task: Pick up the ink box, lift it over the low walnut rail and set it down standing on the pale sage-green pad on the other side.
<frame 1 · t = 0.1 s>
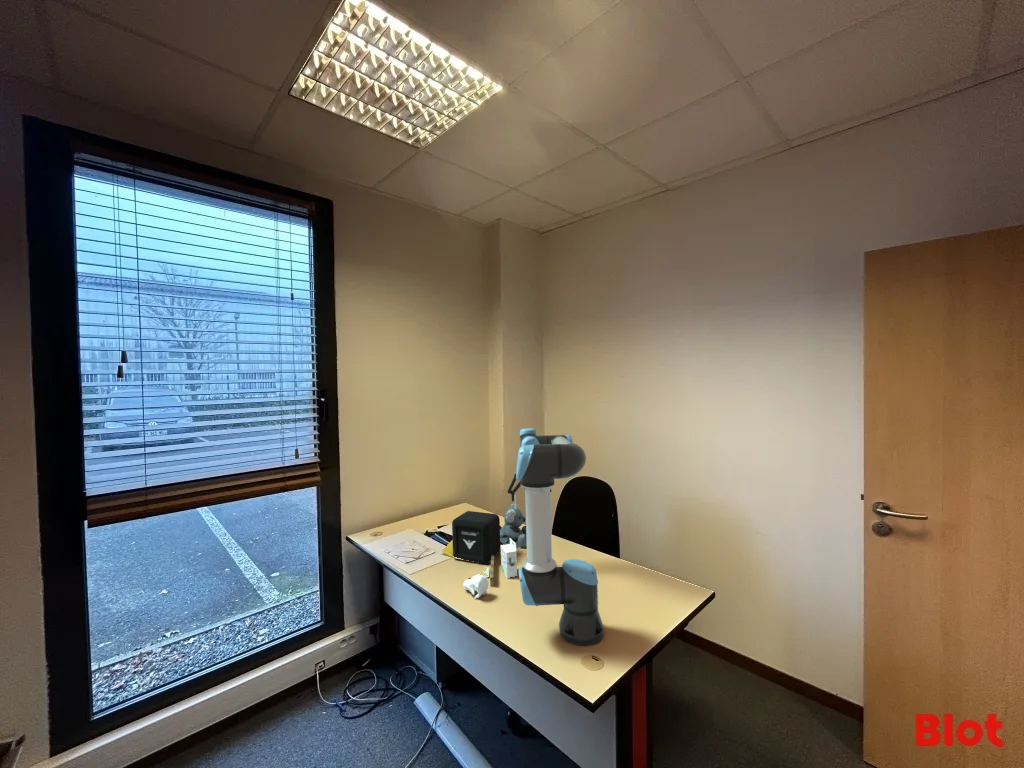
hand: (529, 507, 187), 28 cm above the table, fingers open, 13 cm apart
ink box: (509, 574, 182), on the table
rail: (492, 574, 182), on the table
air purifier: (476, 557, 201), on the table
pad: (479, 573, 183), on the table
white lumpy piece: (474, 594, 166), on the table
koala plush: (513, 542, 218), on the table
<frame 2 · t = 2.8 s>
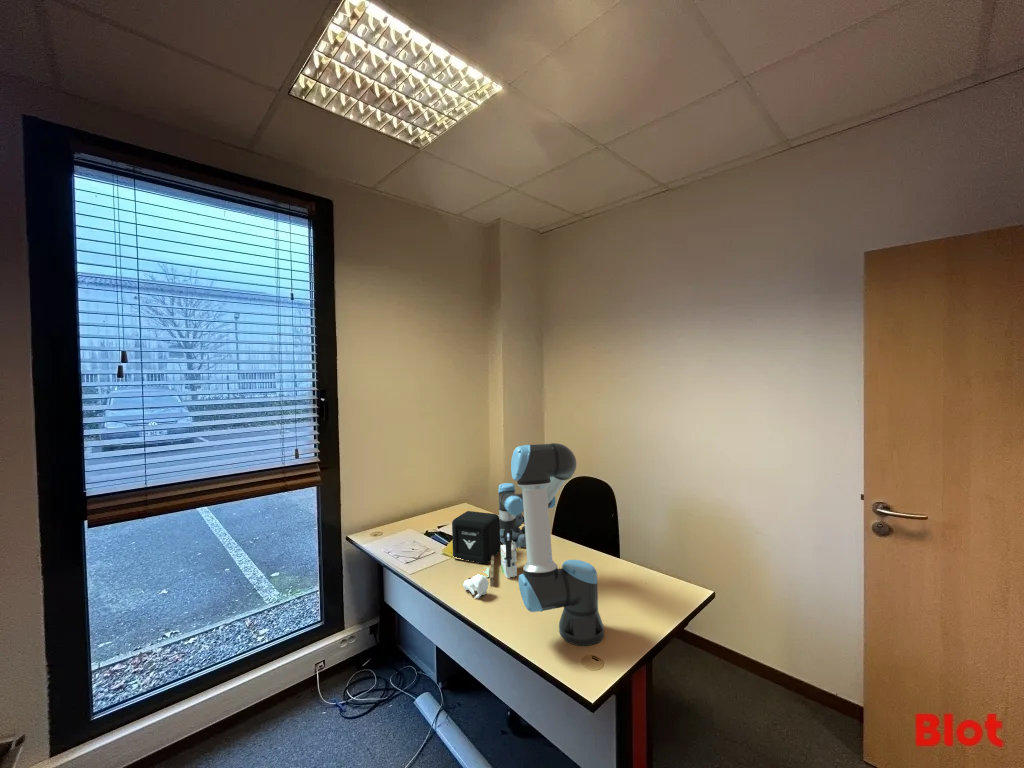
hand: (508, 568, 182), 3 cm above the table, fingers closed on ink box, 9 cm apart
ink box: (509, 574, 182), on the table, touching gripper
everything else where it was.
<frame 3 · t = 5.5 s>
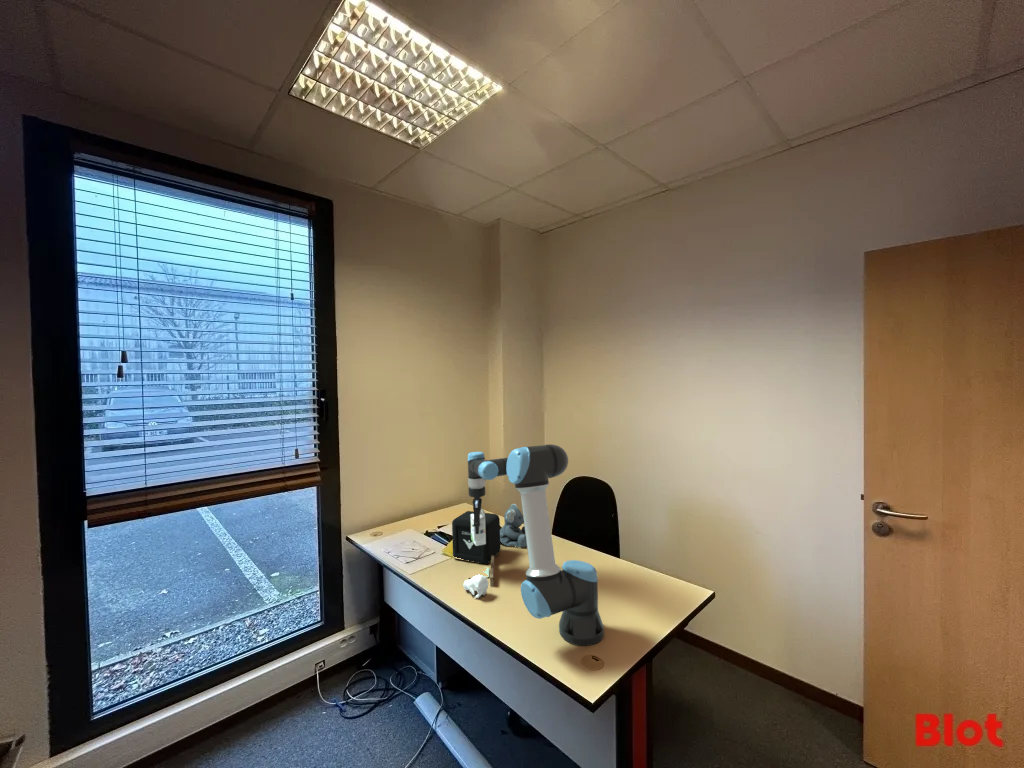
hand: (478, 536, 183), 17 cm above the table, fingers closed on ink box, 9 cm apart
ink box: (478, 542, 183), point 14 cm above the table, touching gripper
everything else where it was.
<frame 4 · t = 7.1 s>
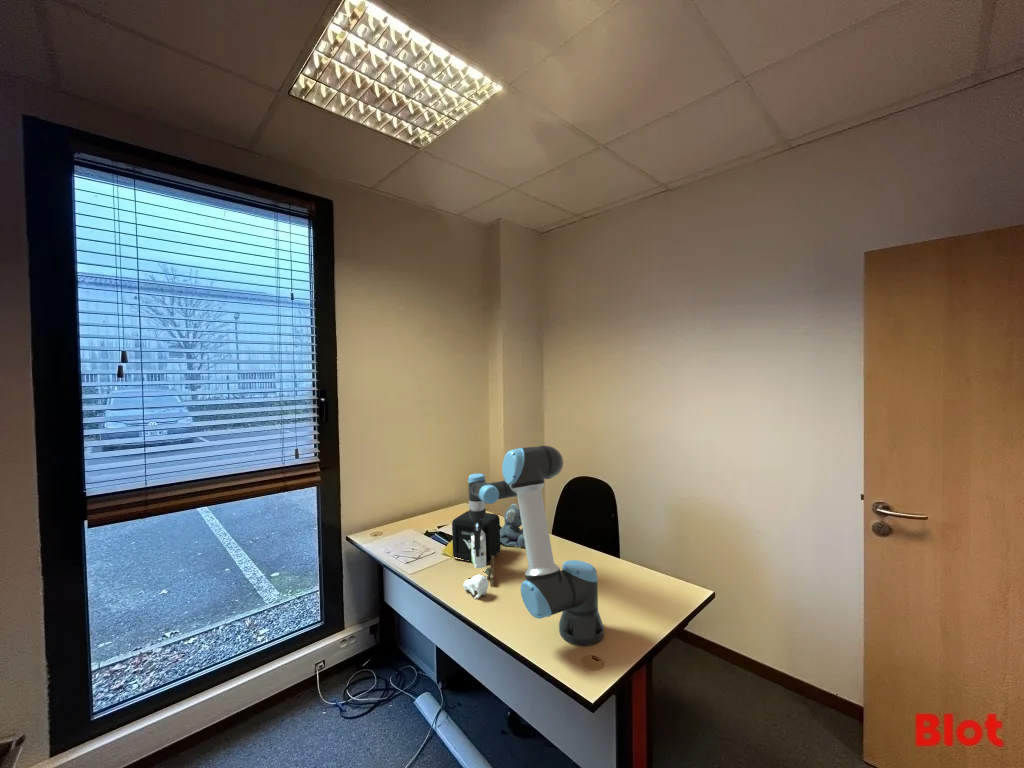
hand: (478, 558, 183), 7 cm above the table, fingers closed on ink box, 9 cm apart
ink box: (478, 564, 183), point 4 cm above the table, touching gripper
everything else where it was.
when the fingers open (4 cm above the table, at t = 8.2 s): ink box drops 1 cm, resting on pad.
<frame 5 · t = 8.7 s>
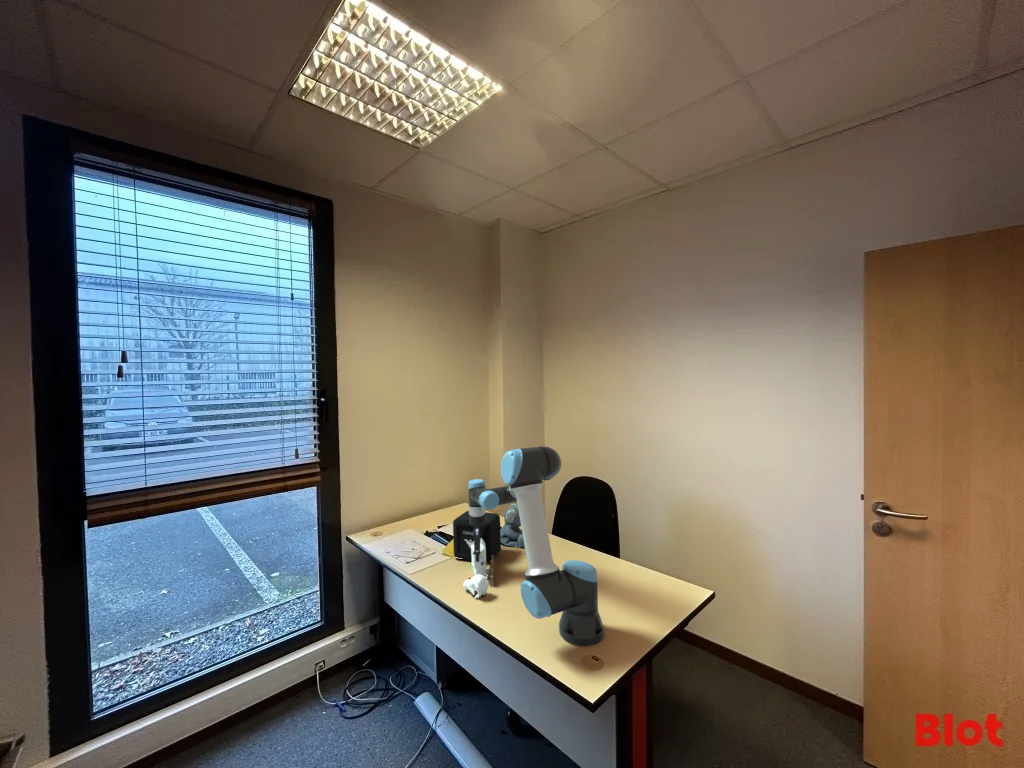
hand: (478, 561, 183), 6 cm above the table, fingers open, 13 cm apart
ink box: (478, 573, 182), resting on pad
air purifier: (476, 556, 201), on the table, touching hand, rail
everything else where it was.
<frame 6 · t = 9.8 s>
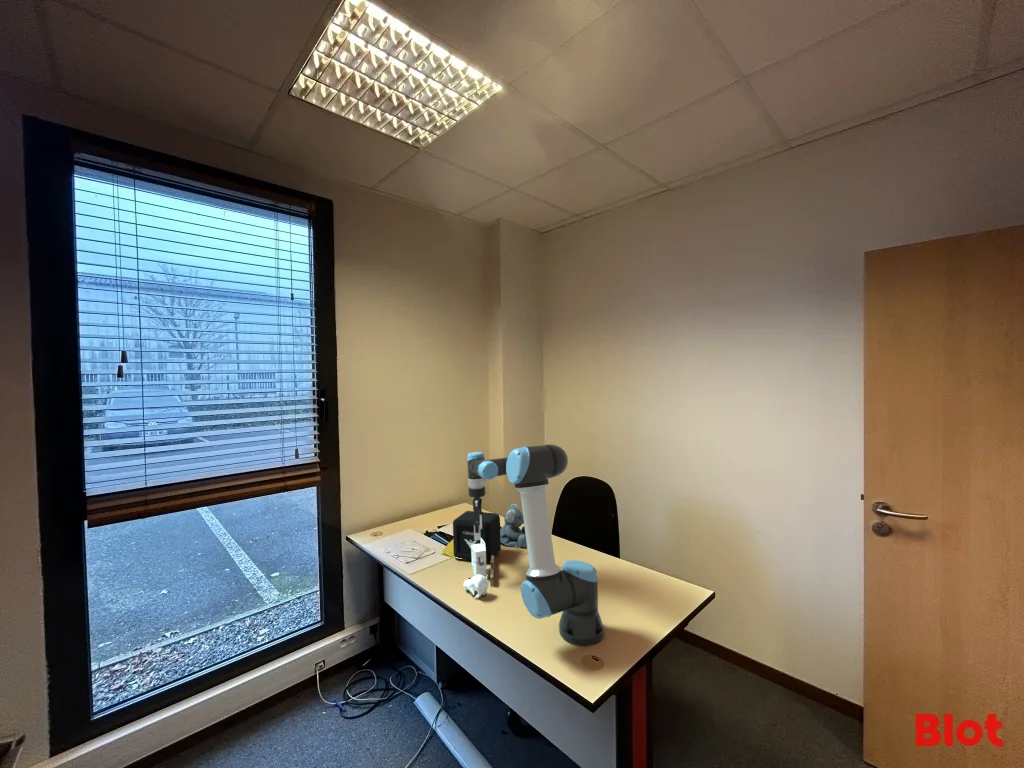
hand: (478, 534, 182), 18 cm above the table, fingers open, 13 cm apart
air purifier: (476, 557, 201), on the table
everything else where it was.
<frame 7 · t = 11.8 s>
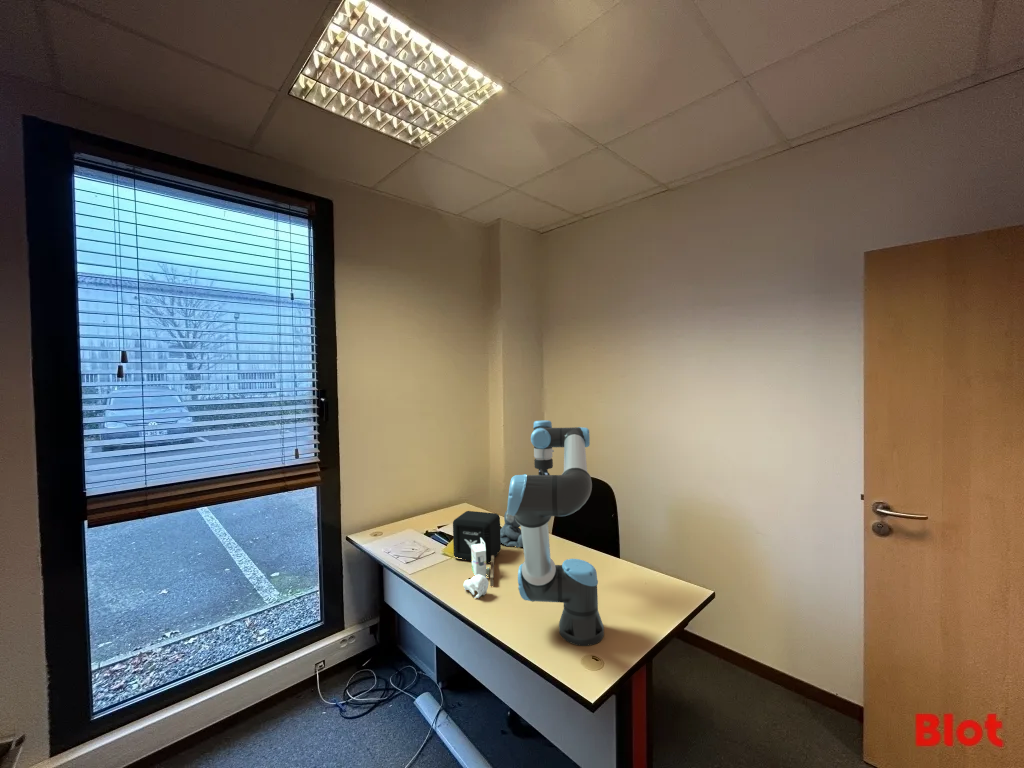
hand: (544, 510, 165), 34 cm above the table, fingers open, 13 cm apart
nothing on the table moved.
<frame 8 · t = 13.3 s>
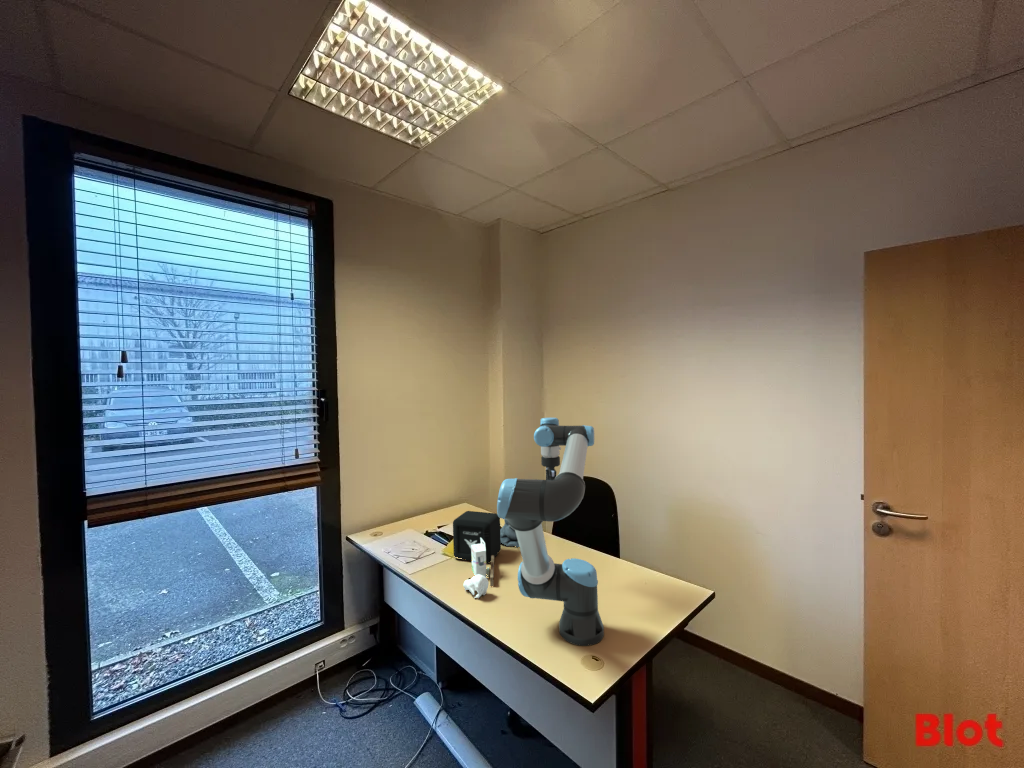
hand: (551, 508, 164), 35 cm above the table, fingers open, 13 cm apart
nothing on the table moved.
at the end: ink box inside the target area on the pad (0.7 cm from its centre), point 0.4 cm above the pad's base; ink box tilted 0°; the gripper is holding nothing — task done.
